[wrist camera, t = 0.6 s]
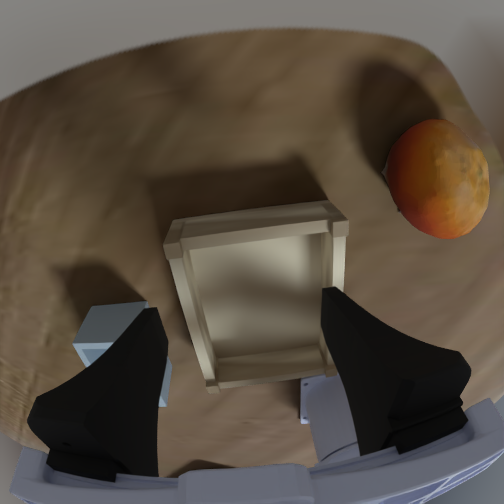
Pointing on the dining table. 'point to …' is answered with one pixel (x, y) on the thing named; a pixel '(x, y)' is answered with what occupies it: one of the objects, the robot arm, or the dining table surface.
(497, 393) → the dining table surface
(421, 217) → the fruit
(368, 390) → the robot arm
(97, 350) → the small crate
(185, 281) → the pine crate
